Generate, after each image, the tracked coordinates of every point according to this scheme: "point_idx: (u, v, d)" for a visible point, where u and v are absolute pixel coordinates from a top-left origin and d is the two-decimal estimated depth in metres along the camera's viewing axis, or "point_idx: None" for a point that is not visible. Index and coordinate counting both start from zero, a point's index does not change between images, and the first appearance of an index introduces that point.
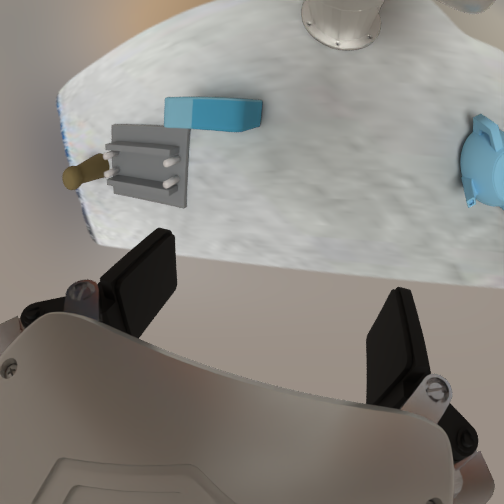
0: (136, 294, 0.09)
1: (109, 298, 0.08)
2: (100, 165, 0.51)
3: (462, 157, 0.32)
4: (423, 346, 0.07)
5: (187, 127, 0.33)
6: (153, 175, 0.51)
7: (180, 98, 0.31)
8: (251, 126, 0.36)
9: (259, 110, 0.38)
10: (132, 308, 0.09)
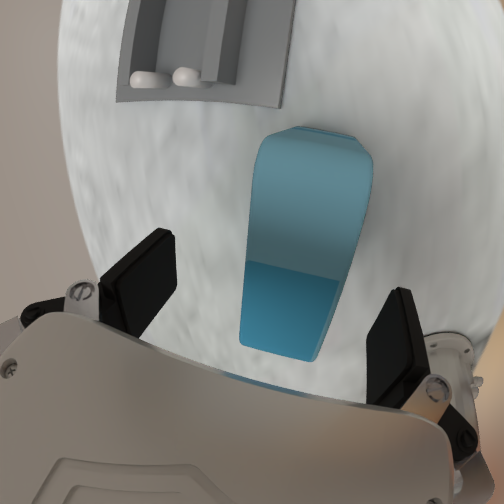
0: (136, 294, 0.09)
1: (109, 298, 0.08)
2: None
3: None
4: (423, 346, 0.07)
5: (249, 247, 0.12)
6: (172, 25, 0.16)
7: (353, 240, 0.10)
8: None
9: None
10: (132, 308, 0.09)
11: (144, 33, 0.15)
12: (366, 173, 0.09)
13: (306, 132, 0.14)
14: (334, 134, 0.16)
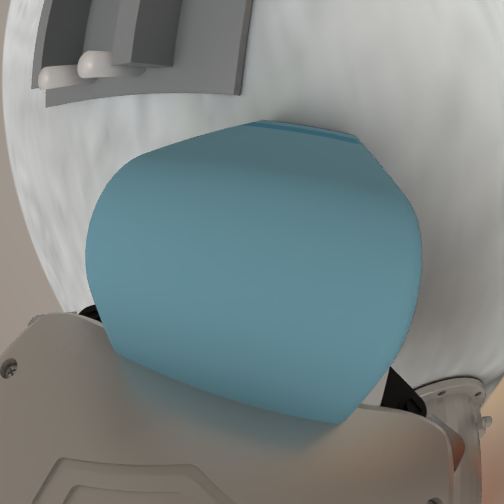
0: None
1: None
2: None
3: None
4: None
5: None
6: (101, 2, 0.09)
7: (338, 421, 0.04)
8: None
9: None
10: None
11: (63, 17, 0.08)
12: (403, 286, 0.03)
13: (263, 131, 0.07)
14: (321, 132, 0.09)
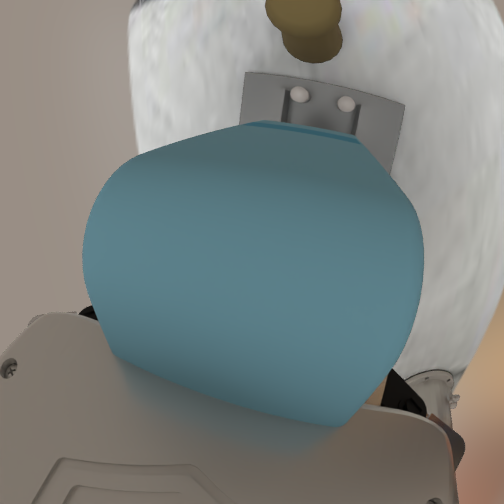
0: None
1: None
2: (318, 56, 0.19)
3: None
4: None
5: None
6: None
7: (338, 424, 0.04)
8: None
9: None
10: None
11: None
12: (405, 288, 0.03)
13: (262, 131, 0.07)
14: (321, 132, 0.09)
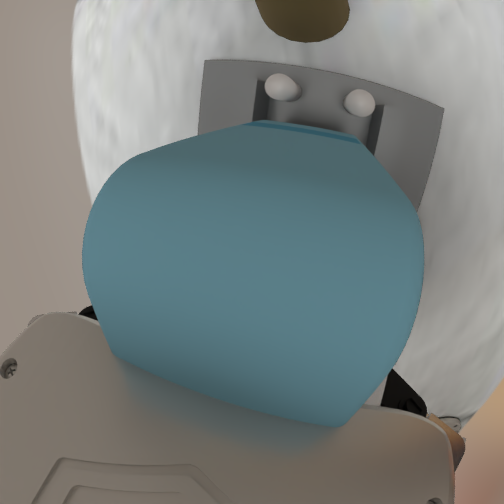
0: None
1: None
2: (313, 28, 0.11)
3: None
4: None
5: None
6: None
7: (338, 424, 0.04)
8: None
9: None
10: None
11: None
12: (405, 288, 0.03)
13: (262, 131, 0.07)
14: (321, 131, 0.09)
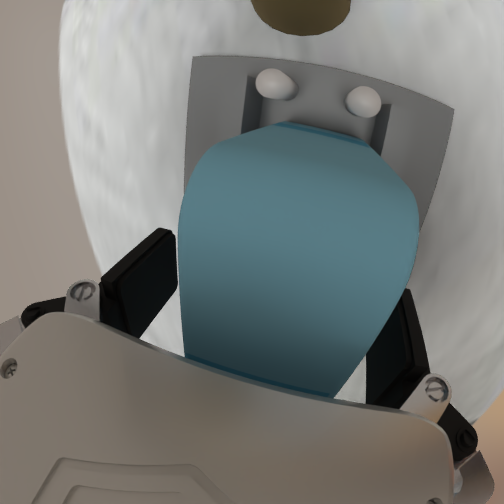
0: (137, 294, 0.09)
1: (110, 298, 0.08)
2: (311, 20, 0.10)
3: None
4: (422, 345, 0.07)
5: (186, 338, 0.07)
6: None
7: (363, 350, 0.05)
8: None
9: None
10: (133, 308, 0.09)
11: None
12: (408, 237, 0.04)
13: (294, 132, 0.09)
14: (336, 135, 0.11)
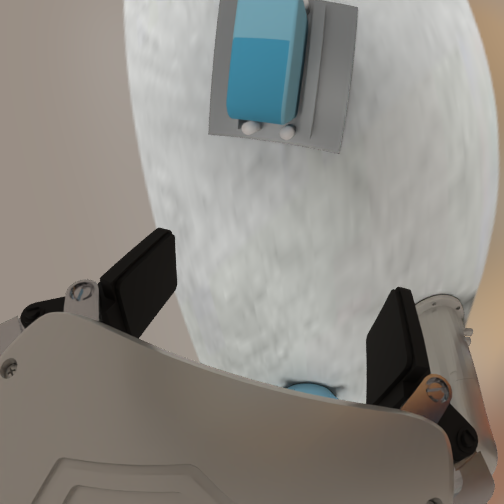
0: (136, 294, 0.09)
1: (109, 298, 0.08)
2: None
3: (309, 389, 0.53)
4: (423, 346, 0.07)
5: (235, 30, 0.15)
6: None
7: (293, 18, 0.13)
8: None
9: None
10: (132, 308, 0.09)
11: None
12: None
13: None
14: None
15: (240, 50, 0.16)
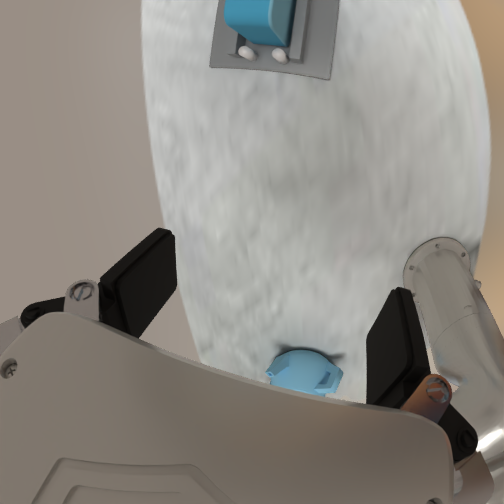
0: (136, 294, 0.09)
1: (109, 298, 0.08)
2: None
3: (305, 355, 0.51)
4: (423, 346, 0.07)
5: None
6: None
7: None
8: (243, 34, 0.22)
9: (271, 43, 0.25)
10: (132, 308, 0.09)
11: None
12: None
13: None
14: None
15: None
